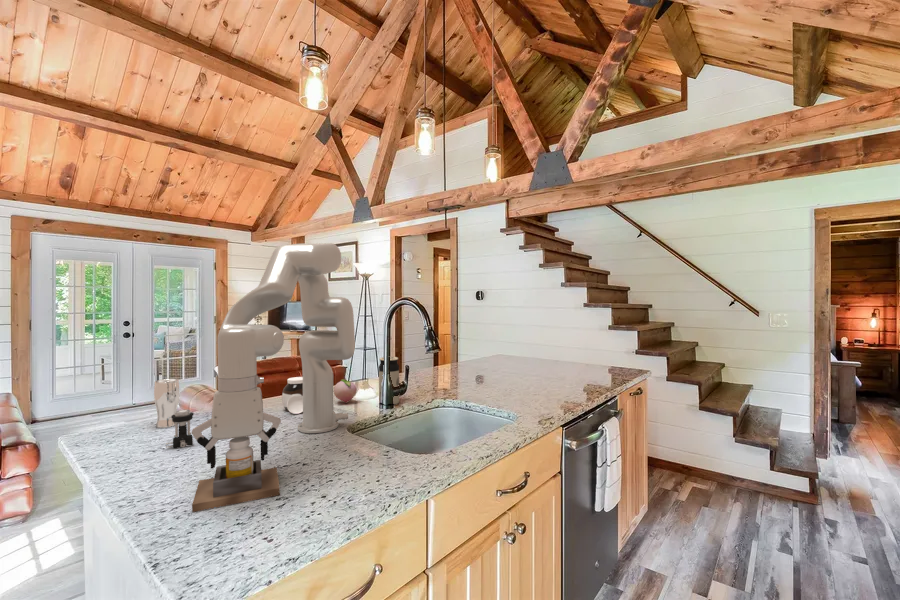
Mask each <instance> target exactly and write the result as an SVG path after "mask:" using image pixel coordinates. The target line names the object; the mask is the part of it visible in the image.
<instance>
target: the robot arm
mask: <svg viewBox="0 0 900 600" xmlns="http://www.w3.org/2000/svg"><path fill="white" fill-rule="evenodd" d="M341 263H342V253H341V249H340V248H339V247H338V245H336V244H334V243H332V242H330V243H329V242H326V243H322V242H321V243H318V242H317V243H311V242H310V243H307V242H306V243H292V244H282V245H280V246H277V247H275V249H274V250H273V252H272V253H271V256H270V258H269V261H268V263H267V264H266V265H267V266H266V267H265V270H264V272H263V274H262V277H261V279H260V282H259V284H258V286H257V287H256V288H254V289H252V290H251V291H250V292H248V293H246V294H245V295H244V296H242V297H241V298H240V299H239V300H238V301H236V302H235V303H234V304H233V305H232V306H231V307H230V308H229V310H228V311H227V313H226V314H225V316H224V319H223V321H222V323H221V326H220V328H219V331H218V334H217V341H216V342H217V390H216V391H214V394H213V398H212V406H211V407H212V408H211V418H210V419H208V420H205V421H204V422H202V423H201V424H199V425H197V426H195V427H194V428H192V430H191V431H190V433H191V435H192V437H194V438H193V439H195V440H196V443H198V444H199V445H201V447H203V448H204V449H205V450H206V461H207V462H206V464H207V465H208V464H210V469H211V470H213V469H214V468H216V464H217V463H216V461H217V460H216V457H217V456H216V455H217V454H216V451H217V450H216V449H217V448H216V447H217V446H216V445H215V444H217V443H218V442H219V441H220V440H221V441H222V440H228V439H229V440H231V439H233V438H239V437H250V436H251V437H253V436H257V437H259V438H260V460H261V462H262V461H265V456H267V455H268V454H269V449H268V448H269V447H268V442H269V441H270V439H271V438H273V436H274V435H275V434H276V432H277V430H278V428H279V426H280V424H281V422H282V420H281V418H280V417H279V416H275V415H271V414H269V413H266V412H264V402H263V401H264V400H263V394H262V389H261V387H259V385H260V384H263V383H264V380H265V379H264V376H259V375H258V374H257V373H258V371H257V359H258V357H261V358H262V357H272V356H274V355H276V354H277V353H279V352H280V351H281V350H282V347H283V346H284V343H285V341H284V340H285V338H284V334H283V331H282V330H281V329H280V328H279V327H278V326H276V325H272V324H251V321H252V320H253V319H255V318H256V317H258V316H259V315H261V314H263V313H267V312H269V311H271V310H274V309H276V308H279V307H281V306H284V305H286V304H288V303H289V302H290V301H291V300H292V298H293V295H294V292H295V290H296V287H297V285H298V284H299V291H300V303H301V304H300V306H301V317H302V321H303V323H304V324H305V325H306V326H309V327H314V328H315V327H316V328H317V327H318V328H336V330H328V329H326V330H325V329H322V330H320V329H319V330H318V329H317V330H316V329H315V330H309V331H306V332H304V333H303V334H302V335H301V336H300V338H299V340H298V349H299V354H300V358H301V369H302V370H301V371H302V377H303V412H302V422H300V423H299V424H298V425H297V430H298V432H300V433H303V434H319V433H327V432H330V431H333V430H335V429H337V428H338V427H339V421H340V420H344V421H345V420H349V413H348V412H346V413H343V412H339V413H336V411H335V410H334V372H333V369H332V366H331V365H330V364H329V363H328V361H335V360H336V361H344V360H347V361H348V360H349V359H351V358H352V357H353V356H354V354H355V351H356V350H355V348H356V343H355V342H356V337H355V319H354V317H355V316H354V309H353V308H354V307H353V305H352V302H351V301H350V300H349V299H348V298H346V297H342V296H330V295H329V294H330V293H329V283H328V279H327V278H326V276H325V275H326V274H330V273H334V272H336V271H337V270H338V269H339V267H340V266H341ZM265 421H266V422H269V423H272V425H271V427H270V428H268V429H267V431H266V430H265V429H264V425H265V424H264V422H265ZM208 428H210V433H211V437H210V438H207V437H206V436H204V435H203V434H202V432H204V431H206V430H207V429H208Z"/></svg>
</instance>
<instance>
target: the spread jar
mask: <svg viewBox="0 0 900 600" xmlns="http://www.w3.org/2000/svg"><path fill="white" fill-rule="evenodd" d="M286 381H287V384H286V385H285V386H284V387H283V390H282V394H281V395H282V396H281V397H282V406H283V408H284V409H285V410H286V411H288V412H290V413H291V414H293V415H298V414H301V413H303V376H296V377H295V376H294V377H289V378H287V380H286Z"/></svg>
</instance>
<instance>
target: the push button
mask: <svg viewBox="0 0 900 600" xmlns="http://www.w3.org/2000/svg"><path fill="white" fill-rule="evenodd" d="M193 416H194V412H191V410H190V409H179V410H177V411H176V412H175V414H174V415H172V416H171V418H172V421H173V422H175V426H174V427H175V428H174V429H175V430H174V431H175V433H174V435H173V438H172V441H171V442H166V443H165V445H168V446H165V448H173V449H178V448H177V447H180V448H185V447H187V446H186V445H192V446H193V445H194V444H193V443H194V442H193V441H194V440H193V439H194V438H193V437H194V436H193V435H192V433H191V420H193V418H194V417H193ZM171 444H172V445H171Z"/></svg>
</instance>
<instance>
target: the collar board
mask: <svg viewBox="0 0 900 600" xmlns="http://www.w3.org/2000/svg"><path fill="white" fill-rule="evenodd" d="M215 468H216V469H215V473H214V477H211V478H206V479H200V480H199V481H198V484H197V487H196V490H195V493H194V497H193V500H192V504H191V509H192V510H191V512H192V513H195V512H199V511H200V512H202V511H205V510H204V509H206V510H210V509H209V508H211V509H214V507H216V508H220V506H221V507H226V506H231V505H235V504H236V505H237V504H241V503H245V502H246V503H247V502H252V501H257V500H261V499H267V498H273V497H277V496H280V491H281V490H280V489H281V487H280V482H279V481H280V480H279V474H278V467H270V468H265V469H262V460H261V459H258V460H257V459H256V460H253V473H254V474H251V475H245V476H239V477H234V478H228V479H226V464H225V465H219V466H215Z"/></svg>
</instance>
